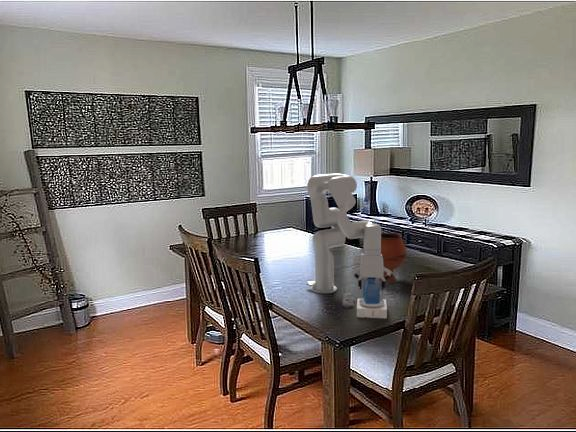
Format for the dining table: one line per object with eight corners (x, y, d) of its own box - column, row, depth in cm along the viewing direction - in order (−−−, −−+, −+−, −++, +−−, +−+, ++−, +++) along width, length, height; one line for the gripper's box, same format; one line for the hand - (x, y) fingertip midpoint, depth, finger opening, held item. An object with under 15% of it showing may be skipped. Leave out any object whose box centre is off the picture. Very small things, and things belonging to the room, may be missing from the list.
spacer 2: (342, 307, 219) (342, 301, 219) (342, 303, 224) (342, 297, 224) (353, 308, 219) (353, 301, 218) (353, 304, 224) (353, 298, 223)
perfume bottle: (377, 298, 215) (377, 273, 213) (379, 303, 209) (379, 277, 207) (363, 298, 215) (363, 273, 213) (365, 303, 209) (365, 277, 207)
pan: (359, 306, 208) (359, 305, 207) (359, 298, 218) (359, 296, 218) (384, 307, 206) (384, 306, 206) (383, 299, 216) (383, 297, 216)
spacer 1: (343, 302, 226) (343, 296, 226) (343, 298, 231) (343, 292, 231) (353, 302, 225) (353, 296, 225) (353, 299, 230) (353, 293, 230)
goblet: (412, 278, 259) (413, 234, 254) (391, 286, 246) (392, 240, 242) (384, 271, 273) (385, 229, 269) (363, 279, 261) (363, 235, 256)
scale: (356, 317, 207) (356, 308, 206) (357, 306, 220) (357, 297, 219) (386, 319, 205) (386, 309, 204) (385, 307, 218) (385, 298, 217)
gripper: (352, 253, 206) (351, 290, 209) (392, 254, 203) (391, 292, 206) (352, 249, 213) (352, 285, 216) (391, 250, 210) (390, 286, 213)
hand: (371, 288), depth 211 cm, fingers open, 9 cm apart
